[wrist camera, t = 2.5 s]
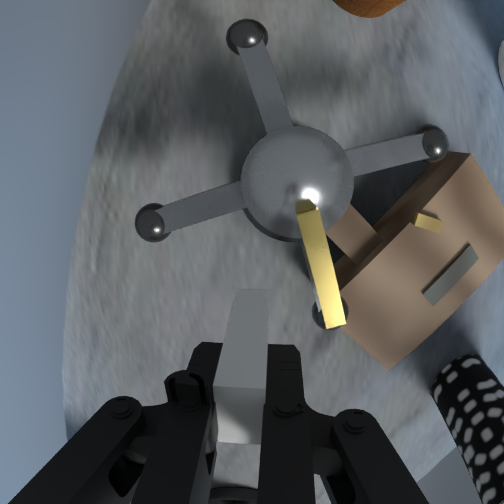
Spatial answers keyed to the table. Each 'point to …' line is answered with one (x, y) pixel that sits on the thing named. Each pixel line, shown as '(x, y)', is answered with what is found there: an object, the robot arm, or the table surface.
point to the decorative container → (501, 62)
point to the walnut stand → (418, 257)
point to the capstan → (291, 178)
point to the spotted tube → (475, 421)
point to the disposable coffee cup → (368, 7)
